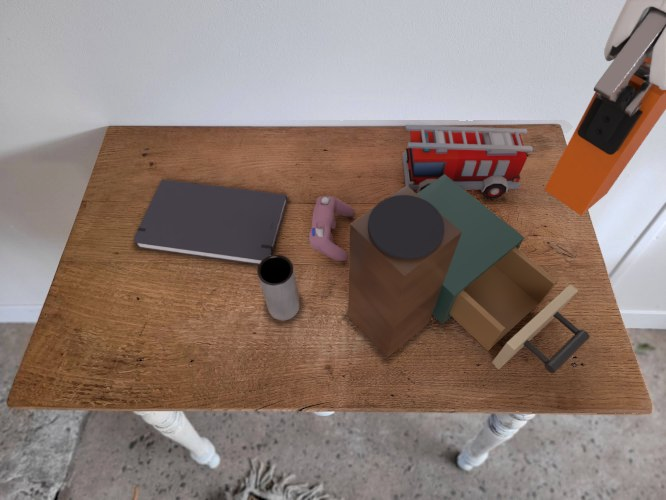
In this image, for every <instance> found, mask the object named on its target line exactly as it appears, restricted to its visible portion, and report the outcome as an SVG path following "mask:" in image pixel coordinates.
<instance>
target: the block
mask: <svg viewBox="0 0 666 500" xmlns="http://www.w3.org/2000/svg"><path fill="white" fill-rule="evenodd" d="M644 61H645V62H647V63H649V64H651V59H649V58H646V59H645V60H644ZM644 81H645V80H643V79H641V78H639V77H637V76H635V75H633V76H632V77H631V79H630V80H629V82H628V84H629V85H630V86H632V87H634V88H635V94H636V92H637V91H638V89H639V88H640V86H641V85H642V83H643V82H644ZM596 94H597V92H595V91H594V94H593V96H592V98H591V99H590V101H589V103H588V104H587V106H586V109H585V111H584V113H583V114H582V115H581V119H580V120H579V122H578V124H577V125H576V128H575V130H574V132H573V133H572V135H571V137H570V139H569V141H568V143H567V145H566V147H565V149H564V151H563V153H562V154H561V156H560V159H559V160H558V162H557V164H556V166H555V168H554V170H553V172H552V174H551V176H550V178H549V179H548V181H547V183H546V185H545V187H544V191H545V192H547V193H548V194H549V195H551V196H553V197H554V198H555V199H556V200H558V201H559V202H561V203H562V204H564V205H565V206H567V207H568V208H569V209H570V210H572V211H574V212H575V213H577V214H578V215H579V216H583V215H584V214H585V213H586V212H588V210H590V209H591V207H593V206H595V204H597V203H598V202H599V201H601V200H602V199H603V198H604V197H605V196H606V195H607V194H608V193H609V192H610V190H611V188H612V187H613V186H614V184H615V183H616V182H617V180H618V178H619V177H620V176H621V174H622V173H623V171H624V170H625V169H626V168H627V166H628V164H629V163H630V162H631V160H632V158H633V157H634V156H635V155H636V153H637V151H638V150H639V148H640V147H641V146H642V145H643V143H644V141H645V140H646V138H647V137H648V135H650V132H651V131H653V130H652V129H653V128H654V127H655V126H656V124H657V123H658V121H659V120H660V118H661V117H662V116H663V114H664V112H665V111H666V90H661V89H659V86H657V85H656V86H655V87H654V88H653V90H652V91H651V93H650V94H649V96H648V97H647V98H646V100H645V101H644V103H643V104H642V106H641V107H640V108H639V110H640V111H642V112H643V113H642V114H641V116H640V117H639V119H638V120H637V122H636V123H635V125H634V127H633V128H632V130H631V131H630V133H629V134H628V136H627V137H626V139H625V140H624V142H623V143H622V145H621V146H620V148H619V150H618V151H617V152H615V153H614V154H612V155H609V154H607V153H605V152H604V151H602V150H601V149H599V148H597V147H596V146H594V145H593V144H591V143H589V142H588V141H586V140H585V139H583V138H581V137H580V136H579V135H578V129H579V128H580V126H581V124H582V122H583V120H584V118H585V116H586V114H587V113H588V111H589V109H590V107H591V105H592V103H593V101H594V99H595V98H596Z"/></svg>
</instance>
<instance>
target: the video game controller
mask: <svg viewBox="0 0 666 500" xmlns="http://www.w3.org/2000/svg"><path fill="white" fill-rule="evenodd" d="M313 208H314V209H313V212H312V218H311V229H310V230H309V233H308V239H309V244H310V246H311V248H312V249H313V250H314V251H318V252H319V253H321V254H323V255H324V256H326V257H328V258H330V259H333V260H335V261H340V262H345V261H347V260H349V254H348V253H347V251H345V250H344V249H343V248H341V247H340V246H338V245H337V244H335V243H334V237H333V233H332V232H331V231H332V230H334V229H336V228H337V227H336V226H337V220H336V218H335V214H336V215H338V216H342V217H348V218H349V217H353V216H354V215H355V209H354V208H353V206H351V205H349V204H348V203H347V202H344V201H342V200H340V199H338V198H336V197H335V196H333V195H321V196H318V197H317V198H316V200H315V205H314V207H313Z"/></svg>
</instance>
